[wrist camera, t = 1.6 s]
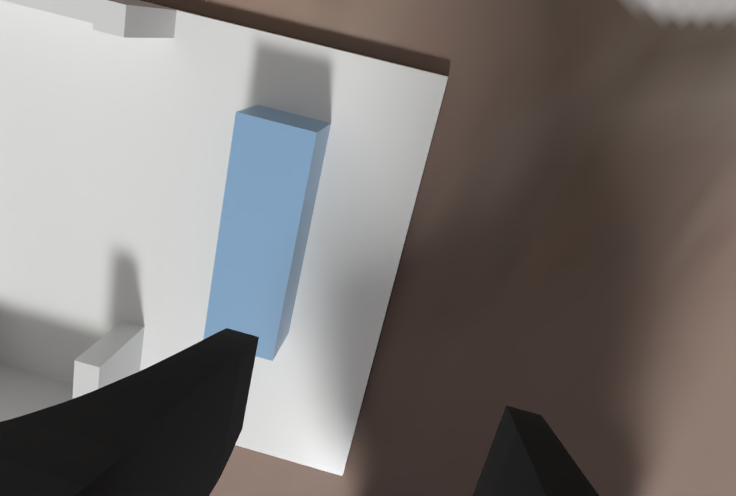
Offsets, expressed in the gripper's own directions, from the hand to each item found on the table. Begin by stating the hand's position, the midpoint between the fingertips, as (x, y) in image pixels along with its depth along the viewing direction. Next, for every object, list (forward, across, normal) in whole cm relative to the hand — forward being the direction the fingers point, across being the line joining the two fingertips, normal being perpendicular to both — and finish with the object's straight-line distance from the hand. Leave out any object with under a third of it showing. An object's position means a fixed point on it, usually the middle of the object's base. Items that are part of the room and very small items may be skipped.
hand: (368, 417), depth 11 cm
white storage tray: (+8, +8, +2) cm, 11 cm away
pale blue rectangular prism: (+8, +4, 0) cm, 9 cm away
